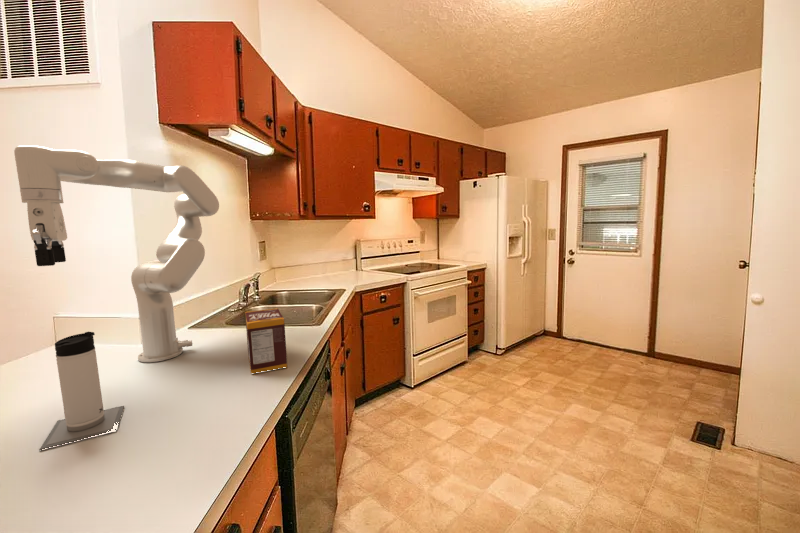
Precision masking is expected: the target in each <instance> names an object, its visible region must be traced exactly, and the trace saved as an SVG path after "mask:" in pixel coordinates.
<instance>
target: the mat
mask: <svg viewBox="0 0 800 533" xmlns="http://www.w3.org/2000/svg"><path fill="white" fill-rule="evenodd" d="M123 409H124V410H125V405H120V406H116V407H111V408H108V409H106V408H105V409H103V410H104V411H103V412H104V417H105V418H104V420H103V421H102V422H101V423H100V424H98V425H96V426H94V427H92V428H89V429H86V430H82V431H76V432H72V431H68V430H67V426H66V419H65V418H63V419H59V420H57V421H56V422H55V424H54V425H53V427H52V429H51V430H50V432H49V433H48V435H47V437H46V438H45V440H44V441H43V443H42V444H41V445H40V447H39V451H40V450H42V449H45V448H49V447H53V446H57V445H62V444H65V443H69V442H74V441H77V440H81V439H84V438H88V437H91V436H95V435H99V434H102V433H106V432H107V431H108V430H109V431H111V429H113V426H114V423H115V424H116V425H117V423H118V422H119V421H120V422H121V420H120V418H122V417H121V415H122V416H123V414H122V412H123V413H124V411H123ZM116 422H117V423H116ZM118 424H119V425H120V423H118ZM115 430H116V429H115ZM109 431H108V432H109Z"/></svg>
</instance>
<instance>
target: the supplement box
mask: <svg viewBox="0 0 800 533" xmlns="http://www.w3.org/2000/svg"><path fill="white" fill-rule="evenodd" d="M244 313H245V326H246V327H245V328H246V341H247V353H248V362H249V363H250V364H249V363H248V364H249V370H250V369H251V370H250V374H251V373H256V372H261V371H267V370H273V369H278V368H283V367H287V368H288V360H287V359H288V354H287V344H286V343H287V340H286V325H285V318H284V317H283V315H282V313H281V311H280V310H279V308H267V309H260V310H251V311H250V310H249V311H245V312H244Z"/></svg>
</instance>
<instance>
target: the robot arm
mask: <svg viewBox="0 0 800 533" xmlns="http://www.w3.org/2000/svg"><path fill="white" fill-rule="evenodd" d="M13 151H14V160H15V166H16V172H17V179H18V180H17V181H18V183H19V184H18V185H19V192H20V198H21V203H23V204H26V207H27V208H26V209H27V210H26V211H27V217H28V218H27V219H28V227H29V228H28V229H29V233H30V237H31V241H32V242H33V249H34V254H35V261H36V262H35V263H36V266H37V267H48V266H50V267H51V266H52V267H53V266H55V265H56V263H65V262H66V261H67V259H66V251H65V247H64V242H63V241H66V240H67V239H68V233H67V228H66V224H65V219H64V215H63V209H62V207H61V204H64V195H63V190H62V182H66V183H74V184H82V185H93V186H103V187H113V188H114V187H115V188H121V189H122V188H123V189H124V188H125V189H126V188H127V189H135V190H144V191H151V192H152V191H154V192H160V193H178V192H179V193H180V192H182V193H181V194H180V195H177V197H176V198H175V200H174V204H173V207H174V208H173V209H174V211H175V215H176V224H175V226H174V227H173V229H172V230H171V231H170V232H169V234H168V235H167V236H165V238H164V239H163V241H162V242H161V243H160V244H159V246H158V247H157V249H156V251H155V252H156V253H155V254H156V258H157V260H158V261H159V262H154V261H153V262H152V261H151V262H144V263H141V264H139V265H137V266H136V267H135V268H134V269H133V270H132V273H131V276H130V278H131V279H130V280H131V286H132V289H133V290H134V294H135V299H136V303H137V309H138V317H139V318H138V319H139V326H140V334H141V343H142V344H141V345H142V352H141V353H139V354H138V356H137V359H138V361H139V362H140V363H156V362H162V361H168V360H171V359H174V358H175V357H178V356H180V355H181V354H183V352H184V348H188V347H193V340H192V339H191V340H188V339H185V340H179V339H178V337H177V333H176V332H177V331H176V322H175V321H176V320H175V313H174V302H173V299H172V296H171V294H173V293H177V292H180V291H181V290H182V289H184V287H185V286H186V285H187V284H188V283H189V281H190V280H191V278H193V276H194V274H195V273H196V272H197V271H198V269H199V268H200V266H201V265H202V264H203V261H204V259H205V254H206V250H205V246H204V245H203V243H202V242H201V241H199V240H200V238H201V237H202V233H203V227H202V223H201V219H200V217H202V218H203V217H212V216H213V215H216V214H217V213H218V211H219V209H220V202H219V199H218V198H217V197H218V196H216V195H215V193H214V192H213V191H212V190H211V188H210V187H208V185H207V184H206V183H205V182H204V181H203V180H202V178H201V177H200V176H199V175H198V174H196V172H195V171H193V169H191V168H189V167H188V166H186V165H181V164H179V165H173V166H165V165H159V164H154V163H148V162H143V161H138V160H134V159H104V160H103V159H97V158H96V157H95V156H93V155H92V154H91V153H89V152H86V151H84V150H77V149H55V148H54V149H53V148H49V147H46V146H39V145H29V144H28V145H26V144H25V145H23V144H22V145H18V146H16V147H15V148H14V150H13Z"/></svg>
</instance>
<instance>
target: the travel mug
mask: <svg viewBox="0 0 800 533" xmlns="http://www.w3.org/2000/svg"><path fill="white" fill-rule="evenodd" d="M94 336H95V332H93V331H85V332H82V333H77V334H73V335H69V336H67V337H64V338H62V339H59V340H57V341H56V342H55V343H54V349H55V357H56V364H57V372H58V380H59V386H60V393H61V399H62V400H61V401H62V406H63V411H64V419H66V426H67V430H68V431H72V432H76V431H82V430H86V429H89V428H92V427H94V426H96V425H98V424H100V423H101V422H102V421H103V420H104V418H105V417H104V412H103V411H104V410H105V409H104V404H103V403H104V402H103V397H102V387H101V382H100V374H99V366H98V361H97V360H98V359H97V353H96V346H95V339H94Z"/></svg>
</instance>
